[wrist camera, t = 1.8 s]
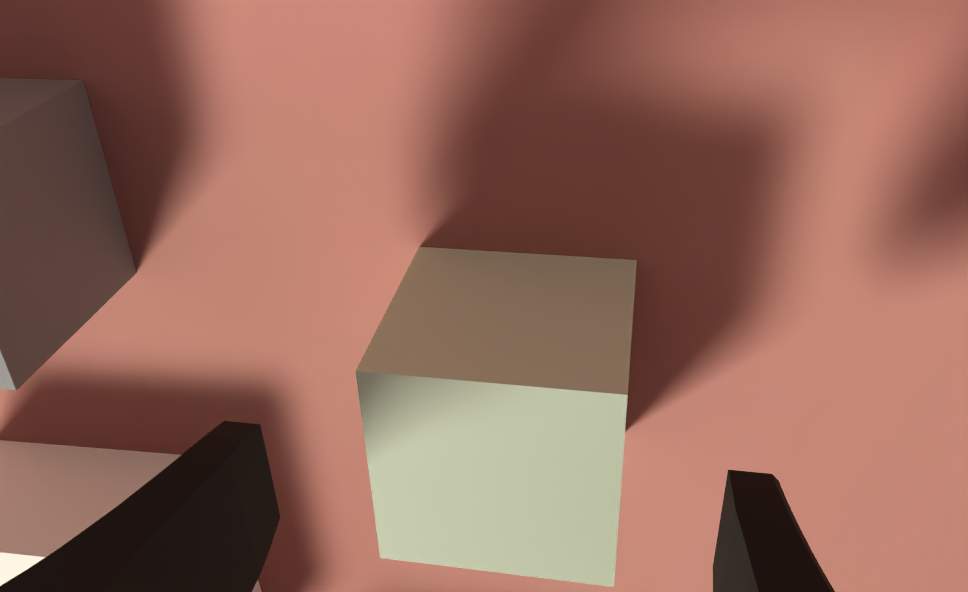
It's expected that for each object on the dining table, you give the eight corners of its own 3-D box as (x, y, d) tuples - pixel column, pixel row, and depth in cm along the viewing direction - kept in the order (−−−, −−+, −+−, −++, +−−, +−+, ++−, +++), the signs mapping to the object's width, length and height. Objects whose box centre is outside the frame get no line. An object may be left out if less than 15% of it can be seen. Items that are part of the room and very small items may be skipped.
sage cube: (637, 257, 16) (628, 395, 12) (624, 429, 18) (613, 586, 14) (420, 244, 16) (356, 370, 13) (433, 411, 18) (380, 558, 15)
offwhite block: (226, 451, 20) (152, 568, 17) (275, 620, 24) (219, 743, 21) (1, 433, 22) (-105, 541, 19) (75, 597, 25) (-5, 711, 22)
